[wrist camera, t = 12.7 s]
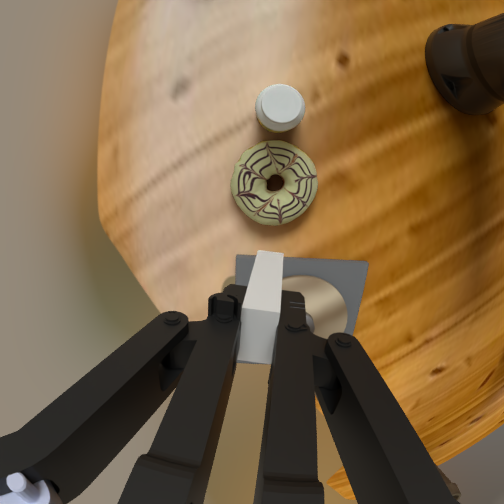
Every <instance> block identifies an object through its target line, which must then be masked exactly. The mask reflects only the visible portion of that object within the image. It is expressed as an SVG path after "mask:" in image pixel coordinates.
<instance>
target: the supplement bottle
mask: <svg viewBox="0 0 504 504" xmlns="http://www.w3.org/2000/svg"><path fill="white" fill-rule="evenodd" d="M255 111H256V115H257V119H258V121H259V123H260V124H261V126H262V127H263V128H265V129H266V130H268V131H270V132H273V133H283V132H286V131H288V130H290V129H292V128H294V127H296V126H297V125H298V124H299V123H300V122H301V120H302V119H303V116H304V113H305V103H304V100H303V97H302V96H301V94H300V93H299V92H298V91H297V90H296V89H294V88H293V87H291V86H288V85H284V84H275V85H271V86H269V87H267V88H265V89H264V90H263V91H262V92H261V93H260V94H259V96H258V97H257V100H256V104H255Z"/></svg>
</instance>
